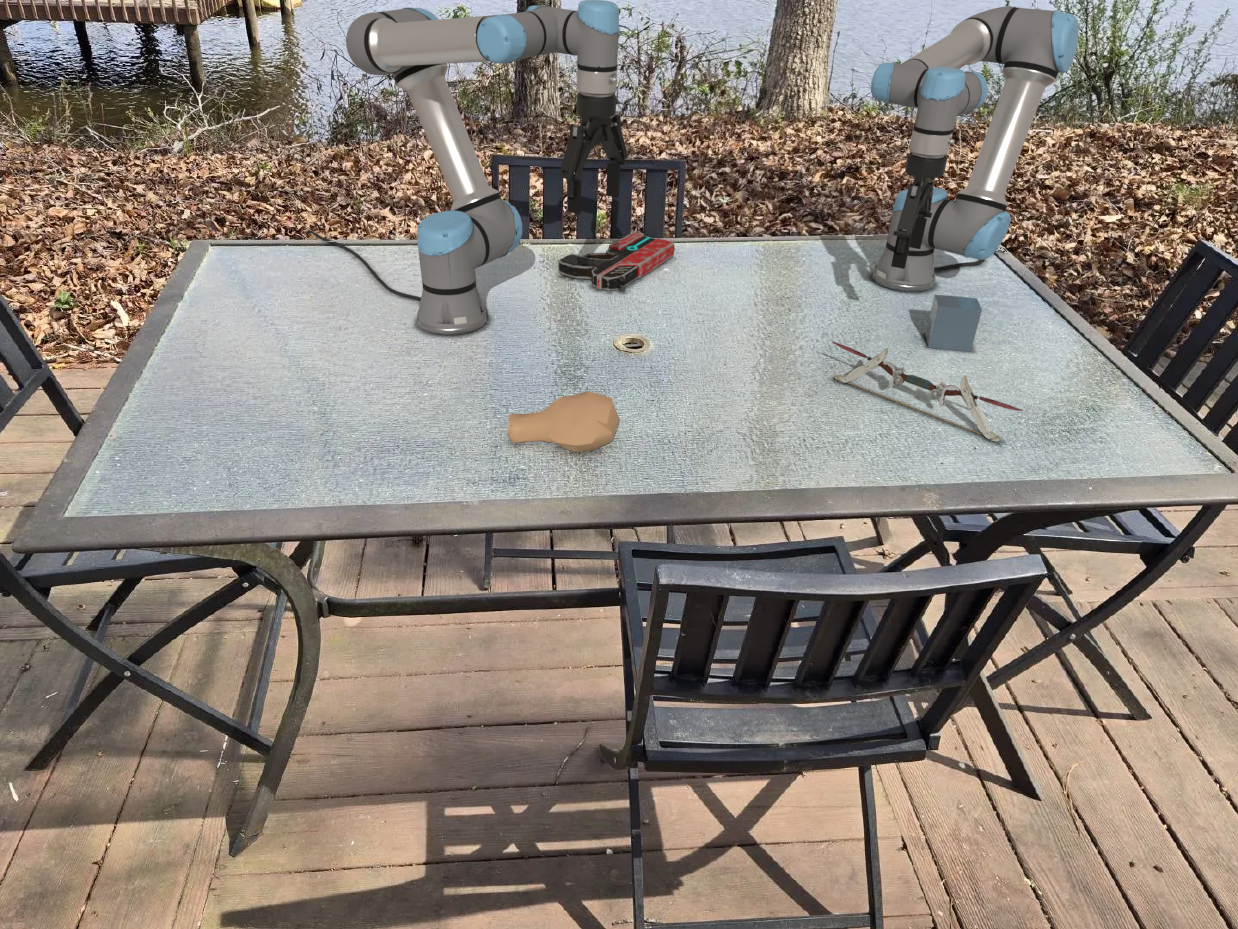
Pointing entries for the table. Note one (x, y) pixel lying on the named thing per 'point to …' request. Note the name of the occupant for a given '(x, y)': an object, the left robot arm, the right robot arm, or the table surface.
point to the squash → (569, 423)
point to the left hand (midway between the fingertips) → (593, 204)
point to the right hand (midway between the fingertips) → (906, 257)
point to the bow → (936, 391)
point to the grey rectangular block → (953, 322)
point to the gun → (618, 261)
